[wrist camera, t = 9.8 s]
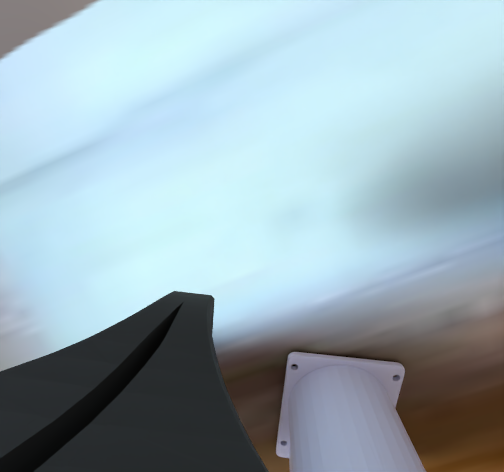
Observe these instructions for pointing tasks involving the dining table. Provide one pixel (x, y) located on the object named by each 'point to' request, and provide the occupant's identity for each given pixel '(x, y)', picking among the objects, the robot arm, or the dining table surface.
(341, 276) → the dining table surface
